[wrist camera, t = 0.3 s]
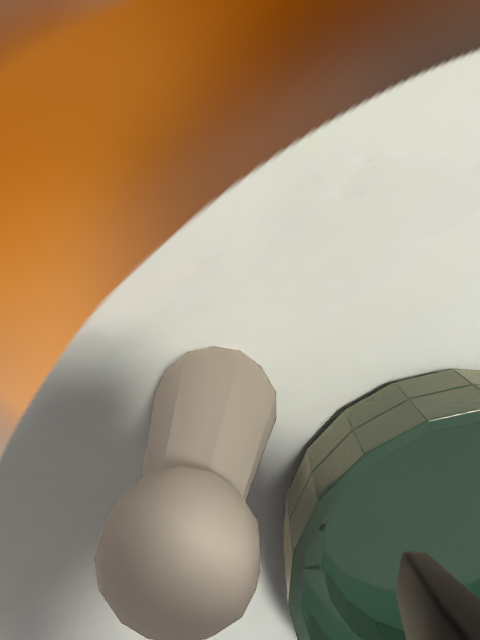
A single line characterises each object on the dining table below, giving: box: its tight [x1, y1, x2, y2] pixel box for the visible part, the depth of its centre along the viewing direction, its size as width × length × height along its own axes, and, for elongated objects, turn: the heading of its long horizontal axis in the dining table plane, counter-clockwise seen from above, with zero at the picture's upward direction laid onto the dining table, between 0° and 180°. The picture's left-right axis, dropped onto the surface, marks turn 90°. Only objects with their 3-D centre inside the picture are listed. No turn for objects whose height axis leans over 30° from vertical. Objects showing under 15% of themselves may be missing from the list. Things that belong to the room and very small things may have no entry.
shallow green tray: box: [283, 369, 480, 640], centre depth 22 cm, size 18×18×5 cm
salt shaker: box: [94, 346, 276, 640], centre depth 17 cm, size 6×6×13 cm
